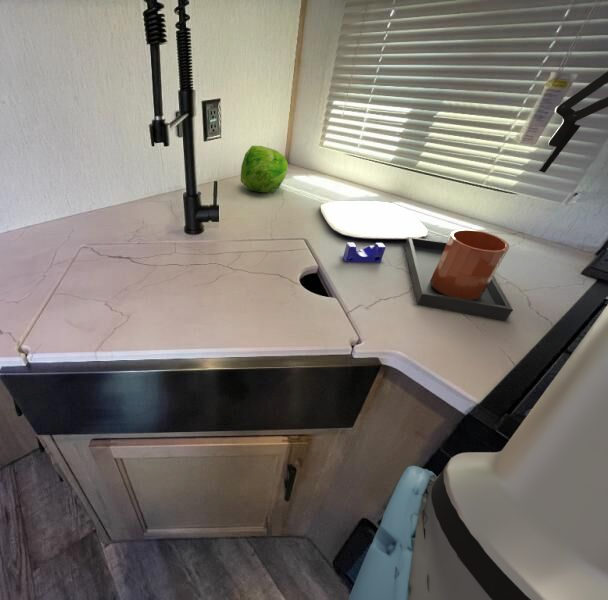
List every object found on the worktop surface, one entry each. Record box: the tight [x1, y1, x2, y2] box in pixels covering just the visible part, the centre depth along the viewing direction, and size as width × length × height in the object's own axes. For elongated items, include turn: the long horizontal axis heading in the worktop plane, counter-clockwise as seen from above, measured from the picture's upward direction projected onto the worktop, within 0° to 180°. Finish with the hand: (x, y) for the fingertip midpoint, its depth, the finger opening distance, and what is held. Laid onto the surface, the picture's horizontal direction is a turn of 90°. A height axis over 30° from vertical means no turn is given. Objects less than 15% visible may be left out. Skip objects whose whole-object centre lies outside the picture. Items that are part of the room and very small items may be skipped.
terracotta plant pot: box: [430, 228, 510, 300], centre depth 67 cm, size 9×9×11 cm
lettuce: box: [240, 145, 289, 194], centre depth 116 cm, size 15×20×14 cm
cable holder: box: [342, 242, 386, 264], centre depth 80 cm, size 8×4×4 cm, turn 89°
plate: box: [319, 200, 429, 241], centre depth 97 cm, size 25×25×2 cm
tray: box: [404, 237, 514, 322], centre depth 74 cm, size 26×15×3 cm, turn 161°
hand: (595, 187), depth 50 cm, fingers open, 13 cm apart
